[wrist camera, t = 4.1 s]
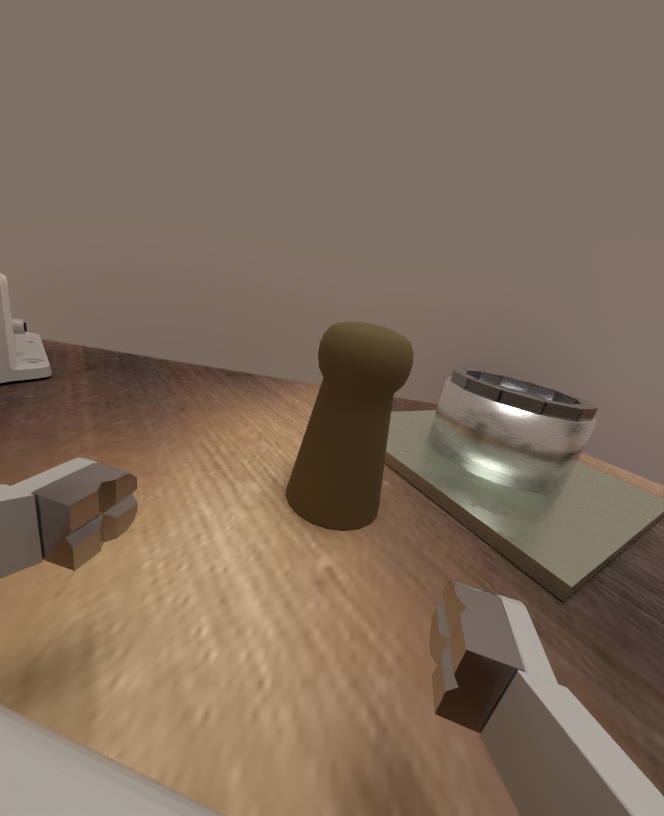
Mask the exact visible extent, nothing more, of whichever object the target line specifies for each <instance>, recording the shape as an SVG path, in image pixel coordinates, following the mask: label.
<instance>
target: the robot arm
mask: <svg viewBox="0 0 664 816" xmlns="http://www.w3.org/2000/svg"><path fill="white" fill-rule="evenodd" d="M51 375H52V371H51V367H50V363H49V360H48V357H47V355H46V352H45V349H44V346H43V343H42V340H41V338H40V336H39V335H38V334H34V333H29V332H27V329H26V323H24V322H23V319H13V317H12V310H11V302H10V296H9V290H8V284H7V278H6V276H5V275H3V274H1V272H0V383H4V382H10V381H18V380H28V379H37V378H44V377H49V376H51ZM136 490H137V478H136V477H135V476H133V475H132V474H130V473H127V472H125V471H122V470H119V469H116V468H114V467H111V466H108V465H105V464H103V463H98V462H96V461H93V460H90V459H88V458H75V459H73V460H70V461H68V462H66V463H63V464H61V465H59V466H56V467H54V468H52V469H49V470H47V471H45V472H42V473H40V474H38V475H35V476H33V477H31V478H28V479H26V480H24V481H21V482H19V483H17V484H14V485H12V486H9V485H6V484H4V485H0V579H1V578H3V577H6V576H8V575H11V574H13V573H16V572H18V571H21V570H23V569H26V568H28V567H31V566H34V565H36V564H39V563H41V562H43V560H45V561H48V562H51V563H54V564H56V565H59V566H62V567H65V568H68V569H71V570H73V571H75V570H77V569H78V568H79V567H80V566H82V565H83V564H84V563H86V562H87V561H88V560H90V559H91V558H92V557H93V556H95V555H96V554H97V553H99V552H100V551H101V549H102V546H103V543H104V542H107V541H110V540H113V539H116V538H118V537H119V536H120V535H122V534H123V533H124V532H125V531H127V529H128V528H129V527H130V525H131V524H132V522H133V521H134V519H135V516H136V513H137V502H136V500H135V498H134V496H133V495H132V494H133V493H134V492H135V491H136ZM443 599H444V603H443V604H441V605H439V606H437V607H436V609H435V612H434V615H433V617H432V623H431V628H430V654H431V656H432V658H433V659H434V661H435V663H436V664H437V666H436V668H435V670H434V673H433V675H432V684H433V697H434V710H435V714H436V715H438V716H441V717H443V718H445V719H448V720H450V721H452V722H455V723H457V724H459V725H462V726H464V727H466V728H469V729H471V730H473V731H476V732H478V733H480V738H481V740H482V742H483V744H484V746H485V748H486V750H487V752H488V754H489V756H490V758H491V760H492V762H493V764H494V766H495V768H496V770H497V772H498V774H499V776H500V778H501V780H502V782H503V784H504V786H505V787H506V789H507V791H508V793H509V795H510V797H511V799H512V801H513V803H514V805H515V807H516V809H517V811H518V813H519V815H520V816H664V796H663V795H662V794H661V793H660V792H659V791H658V790H657V789H656V787H655V786H654V785H653V784H652V783H651V782H650V781H649V780H648V778H647V777H646V776H645V775H644V774H643V773H642V772H641V771H640V769H639V768H638V767H637V766H636V765H635V764H634V763H633V762H632V760H631V759H630V758H629V757H628V756H627V755H626V754H625V753H624V751H623V750H622V749H621V748H620V747H619V746H618V745H617V744H616V742H615V741H614V740H613V739H612V738H611V737H610V736H609V735H608V733H607V732H606V731H605V730H604V729H603V728H602V727H601V726H600V724H599V723H598V722H597V721H596V720H595V719H594V718H593V717H592V715H591V714H590V713H589V712H588V711H587V710H586V709H585V708H584V706H583V705H582V704H581V703H580V702H579V701H578V700H577V698H576V697H575V696H574V695H573V694H572V693H571V692H570V691H569V689H568V688H566V687H564V686H561V685H558V683H557V680H556V678H555V676H554V673H553V671H552V668H551V666H550V664H549V661H548V659H547V656H546V654H545V652H544V649H543V647H542V645H541V642H540V640H539V637H538V635H537V633H536V630H535V628H534V625H533V623H532V621H531V618H530V616H529V614H528V611H527V609H526V607H525V606H524V604H523V603H522V602H520V601H517V600H514V599H510V598H507V597H504V596H501V595H495V594H493V593H490V592H487V591H484V590H481V589H477V588H474V587H471V586H468V585H465V584H462V583H459V582H456V581H453V580H449V581H448V582H447V584H446V586H445V588H444V590H443ZM0 816H226V815H224V814H222V813H220V812H218V811H216V810H214V809H212V808H210V807H208V806H206V805H204V804H202V803H200V802H198V801H196V800H194V799H192V798H190V797H188V796H186V795H184V794H182V793H180V792H178V791H176V790H174V789H172V788H170V787H168V786H166V785H164V784H162V783H160V782H158V781H156V780H153V779H151V778H149V777H147V776H145V775H143V774H141V773H139V772H137V771H135V770H133V769H131V768H129V767H127V766H125V765H123V764H121V763H119V762H117V761H115V760H113V759H111V758H109V757H107V756H105V755H103V754H101V753H99V752H97V751H95V750H93V749H91V748H89V747H87V746H85V745H82V744H80V743H78V742H76V741H74V740H72V739H70V738H68V737H66V736H64V735H62V734H60V733H58V732H56V731H54V730H52V729H50V728H48V727H46V726H44V725H42V724H40V723H38V722H36V721H34V720H32V719H30V718H28V717H26V716H24V715H22V714H20V713H18V712H16V711H14V710H12V709H9V708H7V707H5V706H3V705H1V704H0Z"/></svg>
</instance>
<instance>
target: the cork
mask: <svg viewBox="0 0 664 816" xmlns="http://www.w3.org/2000/svg"><path fill="white" fill-rule="evenodd" d="M318 357H319V368H320V370H321V372H322V375H323V377H324V378H323V381H322V384H321V387H320V390H319V393H318V396H317V399H316V402H315V405H314V408H313V411H312V414H311V417H310V420H309V423H308V426H307V429H306V432H305V435H304V438H303V441H302V444H301V447H300V450H299V453H298V456H297V459H296V462H295V465H294V468H293V471H292V474H291V477H290V480H289V483H288V486H287V491H286V497H287V500H288V503H289V505H290V506H291V507H292V509H293V510H294V511H295V512H296V513H297V514H298V515H299V516H301V517H302V518H304V519H305V520H307V521H309V522H310V523H312V524H315V525H318V526H321V527H324V528H327V529H334V530H342V531H345V530H354V529H360V528H362V527H364V526H367V525H369V524H370V523H371V522H372V521H373V520H374V519H375V518H376V517H377V512H378V507H379V500H380V493H381V485H382V478H383V470H384V463H385V455H386V448H387V440H388V433H389V425H390V418H391V410H392V403H393V395H394V393H395V392H396V391H398V390H399V389H400V388H401V387H402V386H404V384H405V382H406V380H407V379H408V377H409V375H410V371H411V368H412V365H413V350H412V346H411V343H410V341H409V340H408V339H407V338H406V337H404V336H402V335H400V334H399V333H397V332H395V331H392V330H390V329H388V328H385V327H381V326H377V325H373V324H368V323H362V322H343V323H336V324H333V325H331V326H330V327H329V328H328V330H327V331H326V332H325V333H324V335H323V337H322V339H321V342H320V346H319V352H318Z"/></svg>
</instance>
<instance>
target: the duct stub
mask: <svg viewBox="0 0 664 816" xmlns="http://www.w3.org/2000/svg"><path fill="white" fill-rule="evenodd" d="M597 409H598V408H597V407H595V406H594V405H592V404H591V403H590V402H588V401H585V400H583V399H581V398H578V397H576V396H573V395H570V394H568V393H565V392H562V391H559V390H555V389H553V388H549V387H546V386H543V385H540V384H536V383H533V382H530V381H526V380H522V379H518V378H514V377H510V376H506V375H501V374H497V373H492V372H487V371H482V370H477V369H468V368H456V369H455V370H454V372H453V375H452V376H450V377H448V378H447V380H446V383H445V386H444V389H443V392H442V395H441V398H440V401H439V404H438V407H437V410H432V411H402V412H391V418H390V425H389V433H388V440H387V448H386V455H385V464H387V465H388V466H389V467H391V468H392V469H393V470H394V471H396V472H397V473H398V474H399V475H401V476H402V477H403V478H405V479H406V480H407V481H408V482H410V483H411V484H412V485H414V486H415V487H416V488H417V489H419V490H420V491H421V492H423V493H424V494H425V495H426V496H428V497H429V498H430V499H431V500H433V501H434V502H435V503H437V504H438V505H439V506H440V507H442V508H443V509H444V510H446V511H447V512H448V513H449V514H451V515H452V516H453V517H455V518H456V519H457V520H458V521H460V522H461V523H462V524H463V525H465V526H466V527H467V528H469V529H470V530H471V531H472V532H474V533H475V534H476V535H478V536H479V537H480V538H481V539H483V540H484V541H485V542H487V543H488V544H489V545H490V546H492V547H493V548H494V549H496V550H497V551H498V552H499V553H501V554H502V555H503V556H504V557H506V558H507V559H508V560H510V561H511V562H512V563H513V564H515V565H516V566H517V567H519V568H520V569H521V570H522V571H524V572H525V573H526V574H528V575H529V576H530V577H531V578H533V579H534V580H535V581H536V582H538V583H539V584H540V585H542V586H543V587H544V588H545V589H547V590H548V591H549V592H551V593H552V594H553V595H554V596H556V597H557V598H558V599H560V600H561V601H562V602H564V601H565V600H566V599H567V598H568V597H570V596H571V595H572V594H573V593H574V592H575V591H577V590H578V589H579V588H580V587H581V586H582V585H584V584H585V583H586V582H587V581H588V580H589V579H591V578H592V577H593V576H594V575H595V574H596V573H598V572H599V571H600V570H601V569H602V568H603V567H605V566H606V565H607V564H608V563H609V562H611V561H612V560H613V559H614V558H615V557H616V556H618V555H619V554H620V553H621V552H622V551H623V550H625V549H626V548H627V547H628V546H629V545H630V544H632V543H633V542H634V541H635V540H636V539H637V538H639V537H640V536H641V535H642V534H643V533H644V532H646V531H647V530H648V529H649V528H650V527H651V526H653V525H654V524H655V523H656V522H657V521H658V520H660V519H661V518H662V517H663V516H664V499H661V498H659V497H657V496H655V495H653V494H650V493H648V492H646V491H644V490H641V489H639V488H637V487H635V486H633V485H630V484H628V483H626V482H624V481H621V480H619V479H617V478H615V477H612V476H610V475H608V474H606V473H604V472H601V471H599V470H597V469H595V468H592V467H590V466H588V465H586V464H584V463H581V462H579V461H578V459H579V457H580V455H581V453H582V451H583V449H584V447H585V445H586V443H587V441H588V439H589V437H590V435H591V433H592V431H593V429H594V427H595V425H596V423H597V420H596V419H595V418H594V415H595V413H596V412H597Z"/></svg>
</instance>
